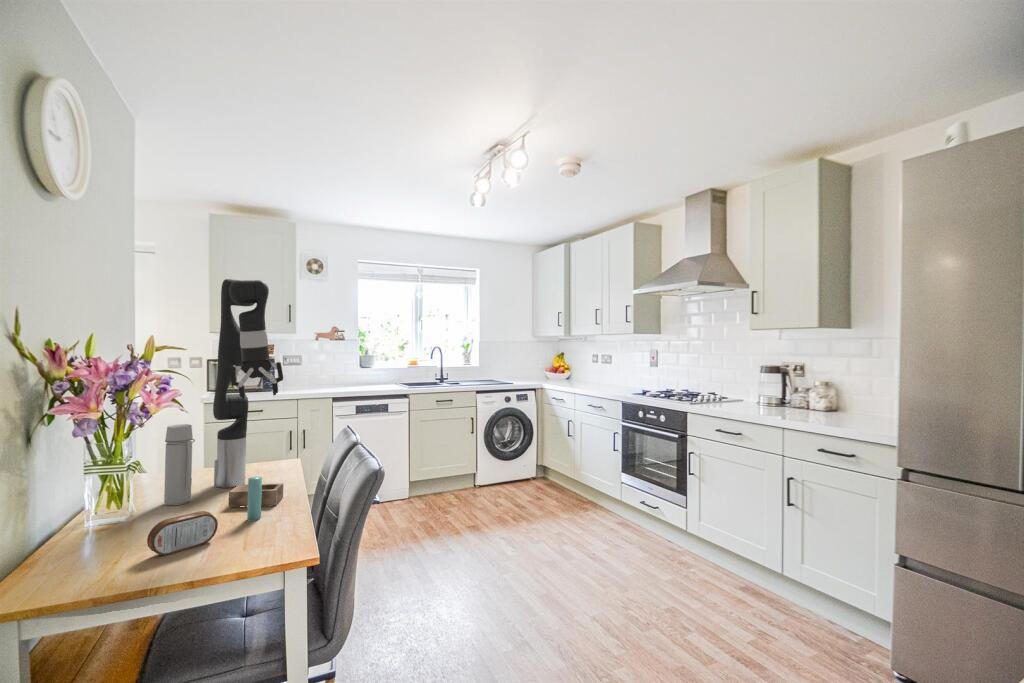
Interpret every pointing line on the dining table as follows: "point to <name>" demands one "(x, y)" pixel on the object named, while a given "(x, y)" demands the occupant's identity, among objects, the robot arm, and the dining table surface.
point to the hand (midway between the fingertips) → (259, 396)
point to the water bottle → (178, 464)
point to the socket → (269, 497)
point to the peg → (254, 498)
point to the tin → (182, 532)
